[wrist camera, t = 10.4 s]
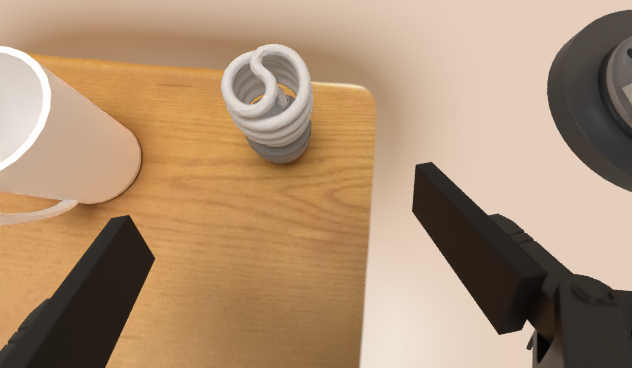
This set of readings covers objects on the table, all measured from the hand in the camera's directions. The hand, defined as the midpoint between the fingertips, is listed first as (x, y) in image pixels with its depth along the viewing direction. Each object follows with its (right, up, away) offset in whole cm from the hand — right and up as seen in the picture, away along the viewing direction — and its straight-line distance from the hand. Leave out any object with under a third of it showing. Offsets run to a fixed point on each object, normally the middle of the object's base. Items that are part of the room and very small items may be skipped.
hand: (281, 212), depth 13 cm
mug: (-19, +2, +13) cm, 23 cm away
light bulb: (-1, +5, +14) cm, 15 cm away
